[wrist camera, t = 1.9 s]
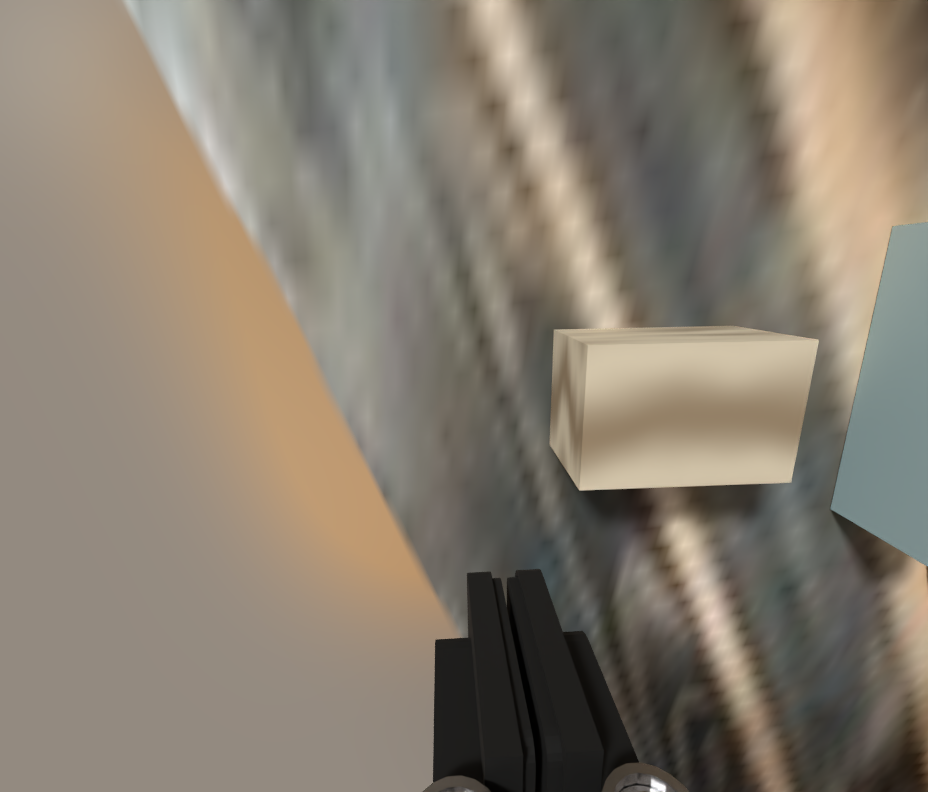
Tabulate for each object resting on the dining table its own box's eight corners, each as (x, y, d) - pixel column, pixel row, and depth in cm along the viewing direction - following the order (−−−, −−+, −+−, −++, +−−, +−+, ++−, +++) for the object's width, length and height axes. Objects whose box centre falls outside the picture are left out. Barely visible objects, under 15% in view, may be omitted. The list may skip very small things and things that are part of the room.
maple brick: (553, 329, 29) (588, 345, 22) (731, 325, 29) (818, 339, 22) (549, 443, 31) (579, 490, 24) (715, 438, 31) (790, 482, 24)
